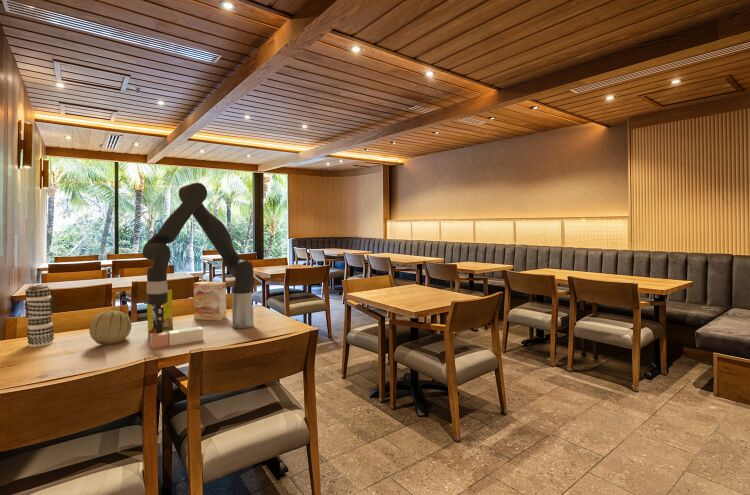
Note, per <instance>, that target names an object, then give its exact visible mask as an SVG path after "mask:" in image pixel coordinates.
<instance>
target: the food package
mask: <svg viewBox="0 0 750 495" xmlns="http://www.w3.org/2000/svg"><path fill="white" fill-rule="evenodd" d="M162 307H163V308H164V311H163V314H164V323H163V332H165V331H172V330H174V318H173V316H174V315H173V290H172V289H168V302H167V303H164V304H162ZM146 310H147V311H146V314H147V338H150V334H151V333H156V329H154V328H153V320H154V319H153V317H152V305H150V304H147V303H146ZM160 320H161V319H160Z"/></svg>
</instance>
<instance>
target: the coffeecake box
mask: <svg viewBox="0 0 750 495" xmlns="http://www.w3.org/2000/svg"><path fill="white" fill-rule="evenodd" d="M226 286H227V284H226V282H225V281H224V282H222V281H221V282H219V281H197V282H194V283H193V316H194V317H193V320H204V321H222V320H224V319H226V318H227V287H226Z"/></svg>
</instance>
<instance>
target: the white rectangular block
mask: <svg viewBox="0 0 750 495" xmlns="http://www.w3.org/2000/svg"><path fill="white" fill-rule="evenodd" d="M167 333H168V340H169V346H174V345H181V344H187V343H192V342H198V341H204V329H203V327H201V326H191V327H187V328H186V327H185V328H181V329H173V330H172V331H167ZM169 346H168V347H169Z"/></svg>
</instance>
